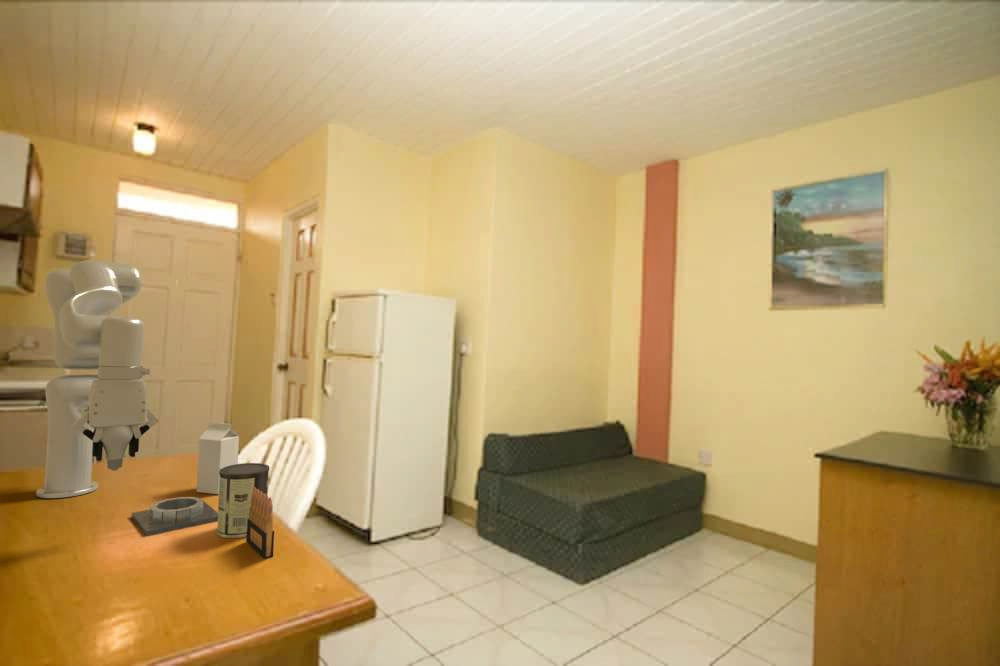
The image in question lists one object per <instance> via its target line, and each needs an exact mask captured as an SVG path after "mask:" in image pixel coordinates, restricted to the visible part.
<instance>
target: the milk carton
mask: <svg viewBox="0 0 1000 666" xmlns="http://www.w3.org/2000/svg"><path fill="white" fill-rule="evenodd" d="M239 446H240V435H239V434H237V433H236V431H235V430H234V429H232V424H230V423H222V422H221V423H220V422H209V425H208V427H207V428H206V429H205V431H204V432H203V433H202V434H201V436H200V437H199V439H198V455H197V472H196V473H197V474H196V475H197V477H196V492H197V493H203V494H212V495H219V481H220V474H219V470H220V469H222V468H224V467H227V466H230V465H235V464H239Z"/></svg>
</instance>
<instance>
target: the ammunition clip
mask: <svg viewBox="0 0 1000 666" xmlns="http://www.w3.org/2000/svg"><path fill="white" fill-rule="evenodd" d="M273 505H274V504H273V500H272V497H269V496H268V495H266V496H265V493H263V494H262V491H260V492H259V489H256V487H254V489H253V492H252V497H251V505H250V512H249V519H248V523H247V537H245V538H246V539H245V542H247V543H248V544H249V545H248V544H247V543H246V544H247V545H248V546H250V548H252V549H253V551H255V553H257V554H258V555H259V556H260V557H261V558H262V559H267V558H272V557H274V548H275V547H274V546H275V545H274V544H275V541H274V540H275V530H273V529H274V515H273V513H274V512H273V507H274V506H273Z"/></svg>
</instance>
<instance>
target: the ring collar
mask: <svg viewBox="0 0 1000 666" xmlns="http://www.w3.org/2000/svg"><path fill="white" fill-rule="evenodd" d="M131 519H132V520H133V522H135V524H136V525H137V526H138V528H139V530H141V531H142V533H143V534H144V536H145V537H148V536H154V535H158V534H163V533H168V532H172V531H177V530H182V529H185V528H191V527H195V526H196V527H197V526H201V525H204V524H205V525H206V524H210V523H214V522H218V511H216V509H214V508H213V507H211V506H210V505H209V504H208V503H206V502H205V501H204V500H203V499H201V497H196V496H195V497H194V496H179V497H172V498H166V499H163V500H160V501H157V502H154V503H153V504H152V505H150V506H149V509H146V510H141V511H136V512H132V513H131Z"/></svg>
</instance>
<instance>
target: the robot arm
mask: <svg viewBox="0 0 1000 666" xmlns="http://www.w3.org/2000/svg"><path fill="white" fill-rule="evenodd" d="M142 285H143V279H142V275H141V272H140V271H139V269H138V268H137V267H136V266H133V265H131V264H128V263H120V262H113V261H103V260H98V259H97V260H96V259H85V260H81V261H78V262H76V263H75V264H74V265H73V266H72V267H71V268H70V269H55V270H52V271H50V272H49V273H48V274H47V276H46V279H45V294H46V295H45V296H46V299H47V302H48V304H49V306H50V308H51V310H52V314H53V316H54V341H53V343H54V344H53V345H54V346H53V347H54V348H53V353H54V354H53V355H54V362H55V365H56V366H57V367H58V368H60V369H62V370H63V369H64V370H70V371H71V370H79V371H80V370H84V371H86V370H89V371H90V370H96V371H97V370H98V371H97V374H87V373H86V374H65V375H64V374H63V375H59V376H56V377H54V378H51V379H50V380H49V381H48V382H47V384H46V385H45V391H44V393H45V399H46V407H47V440H46V455H45V456H46V457H45V458H46V459H45V471H44V474H45V475H44V486H42V487H39V488H38V489H37V490H36V493H35V496H36V497H38V498H41V499H63V498H69V497H77V496H80V495H85V494H89V493H91V492H94V491H96V490H97V489H98V487H99V483H98V482H96V481H93V480H92V473H93V472H92V470H93V469H92V467H93V458H94V457H95V460H96V461H97V462H99V461H102V460H103V449H104V447H103V442H101V441H100V438H101V434H102V432H103V430H104V429H105V428H107V427H111V426H115V425H126V426H131V427H132V430H133V437H132V439H131V441H130V442H129V444H128V455H129V457H130V458H135V457H136V453H139V451H140V450H139V447H140V446H139V444H140V439H141V438H142V436H143V435H144V434H145V433H147V432H148V431H149V430H150V429H151V428H153V427H154V426H155V425H156V424H157V423H159V419H158V418H157V417H156V416H155V415H154V414H153V413H152V412H151V411H150V410H149V409H148V397H147V394H148V393H147V386H146V381H145V379H144V378H143V377H144V376H146V375H150V368H146V367H144V366H143V355H144V354H143V353H144V336H145V335H144V334H145V324H144V321H142V320H141V319H140V318H134V317H130V316H129V317H127V316H112V315H109V314H112V313H114V312H115V311H117V310H118V309H120V306H121V305H124V304H126V303H127V302H129V301H130V300H132V299H134V298H135V297H136V296H138V295H139V294H140V292H141V290H142V289H141V288H142ZM83 411H86V412H85V413H84V412H83ZM140 425H141V426H140Z"/></svg>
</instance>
